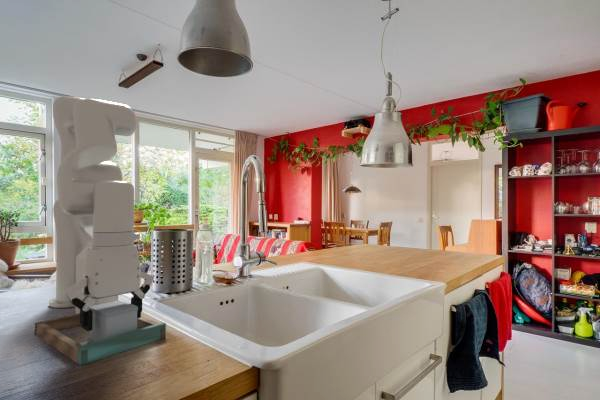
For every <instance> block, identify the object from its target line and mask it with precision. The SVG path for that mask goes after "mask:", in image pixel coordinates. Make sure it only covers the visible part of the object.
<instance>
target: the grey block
mask: <svg viewBox="0 0 600 400" xmlns="http://www.w3.org/2000/svg"><path fill="white" fill-rule="evenodd" d="M90 310H92V311H93V327H92V330H91V331H88V337H87V341H88V342H90V343H92V342H96V341H99V340H103V339H106V338H110V337H113V336H117V335H120V334H124V333H127V332H131V331H134V330H137V311H138V306H135V305H132V304H131V303H129V302H126V301H123V300H119V299H118V301H113V302H109V303H104V304H99V305H94V306H91V307H90Z"/></svg>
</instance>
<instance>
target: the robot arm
mask: <svg viewBox="0 0 600 400" xmlns="http://www.w3.org/2000/svg"><path fill="white" fill-rule="evenodd" d="M52 118H53V121H54V124H55V125H54V126H55V128H56V130H57V133H58V135H59V138H60V145H61V149H60V151H61V152H60V163H59V166H58V168H57V172H56V173H57V174H56V186H57V187H56V189H57V200H55V202H54V203H53V207H52V211H53V218H54V224H55V232H56V237H55V238H56V263H55V265H56V267H55V268H56V271H55V277H56V278H55V281H56V283H55V298H53V299H50V301H49V303H48V305H49V306H50V307H51V308H56V309H57V308H59V309H60V308H61V309H65V308H67V309H68V308H76V307H77V308H79V309H80V325H79V326H80V327H81V328H82V330H84V331H86V332H89V331H91V330H92V327H93V311H92V310H90V307H91V306H92V305H93V304H94V302H95V301H96V300H97V299H101V298H107V297H112V296H117V295H118V296H120V295H125V294H131V295H132V296H133V297H132V296H131V298H130V304H132V305H135V306H138V311H137V318H141V317H142V312H143V299H144V298H145V297H146V294H147V293H148V292H149V290H150V289H151V285H152V284H153V282H154V280H155V275H152V274H149V273H146V272H145V271H142V270H141V263H140V256H139V250H138V247H137V245H136V244H135V243H136V242H135V241H136V240H140V236H141V235H140V233H139V232H136V231H135V187H134V185H133V184H132V183H131V182H129V181H125V180H124V181H123V173H122V170H121V167H120V166H119V165H118V164H117V163H115V162H112V161H110V160H112V159H113V158H114V157H115V156H116V154H117V152H118V145H117V139H116V136H121V137H122V136H123V137H131V136H133V134H134V133H135V132H136V128H137V117H136V114H135V111H134V110H133V108H131V106H129V105H127V104H123V103H119V102H113V101H107V100H104V99H103V100H102V99H96V98H83V97H78V96H69V95H68V96H67V95H65V96H59V97H57V98H55V99H54V101H53V103H52ZM87 228H92V235H91V234H89V232H87V231H86V229H87ZM87 241H93V248H88V250H87V254H86V258H85V264H84V271H83V279H82V280H80V281H79V282H77V283H76V257H77V256H78V255H79V253H80V252H81V251H82V250H83V249H84V247H85V246H86V245H87ZM141 279H143V284H142V285H141ZM81 289H82V293H83V295H85V296H84V297H83V299H82V300H80V299H78V297H77V295H76V293H77V292H78V291H79V290H81Z"/></svg>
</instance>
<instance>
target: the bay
mask: <svg viewBox="0 0 600 400" xmlns="http://www.w3.org/2000/svg"><path fill="white" fill-rule="evenodd" d="M166 325H167V323H166V322H163V321H162V322H157V321H154V320H152V319H149V318H146V317H143V316H141V318H137V330H134V331H131V332H127V333H124V334H120V335H117V336H113V337H110V338H106V339H103V340H99V341H96V342H92V343H90V342H88V340H85V341H83V342H77V341H75V340H73V339H72V338H70V337H68V336H67V335H65V334H64V333H62V332H60V330H64V329H70V328H74V327H78V326H80V313H78V314H76V313H74V314H69V315H66V316H65V315H64V316H61V317H55V318H51V319H47V320H42V321H38V322H37V321H36V322H35V323H34V335H35V336H36V337H38V338H40V339H41V340H42V341H44V343H47V344H48V345H50V346H51V347H53V348H54V349H56V350H57V351H58V352H61V354H63V355H64V356H66V357H67V358H68V359H70V360H72V361H73V362H75V363H76V364H77V365H79V366H83V365H87V364H89V363H92V362H95V361H98V360H102V359H105V358H107V357H110V356H113V355H116V354H119V353H123V352H125V351H129V350H131V349H134V348H137V347H140V346H143V345H147V344H150V343H153V342H155V341H159V340H162V339H166V337H167V334H166V333H167V332H166V330H167V326H166Z"/></svg>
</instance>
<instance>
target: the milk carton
mask: <svg viewBox="0 0 600 400" xmlns="http://www.w3.org/2000/svg"><path fill="white" fill-rule="evenodd" d="M88 248H93V241H87V245H86V246H85V247H84V249H83V250H82V251H81V252H80V253H79V255H78V256H77V257H76V283H77V282H79V281H80V280H82V279H83V271H84V264H85V258H86V254H87V250H88ZM76 295H77V297H78V299H80V300H82V299H83V297H84V296H85V295H83V293H82V289H81V290H79V291H78V292H77V293H76ZM118 300H119V295H117V296H112V297H107V298H101V299H97V300H96V301H95V302H94V304H93V305H92V306H94V305H99V304H104V303H109V302H113V301H118ZM78 313H80V309H79V308H77V307H75V314H78Z"/></svg>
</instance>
